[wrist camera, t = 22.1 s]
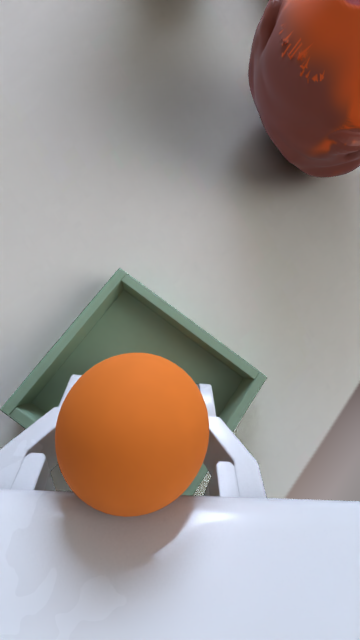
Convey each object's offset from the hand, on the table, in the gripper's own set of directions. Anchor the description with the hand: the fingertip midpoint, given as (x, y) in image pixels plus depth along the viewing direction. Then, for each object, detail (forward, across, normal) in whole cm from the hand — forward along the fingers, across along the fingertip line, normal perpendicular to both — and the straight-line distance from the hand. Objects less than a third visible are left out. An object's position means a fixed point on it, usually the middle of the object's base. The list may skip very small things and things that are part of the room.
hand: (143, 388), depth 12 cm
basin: (+4, 0, -5) cm, 7 cm away
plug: (+4, 0, -5) cm, 6 cm away
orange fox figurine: (+19, +10, +10) cm, 24 cm away
